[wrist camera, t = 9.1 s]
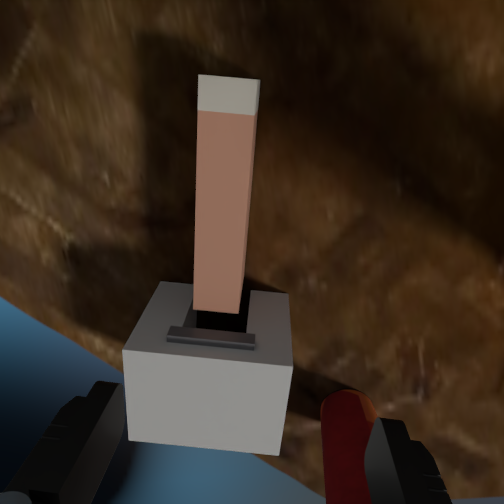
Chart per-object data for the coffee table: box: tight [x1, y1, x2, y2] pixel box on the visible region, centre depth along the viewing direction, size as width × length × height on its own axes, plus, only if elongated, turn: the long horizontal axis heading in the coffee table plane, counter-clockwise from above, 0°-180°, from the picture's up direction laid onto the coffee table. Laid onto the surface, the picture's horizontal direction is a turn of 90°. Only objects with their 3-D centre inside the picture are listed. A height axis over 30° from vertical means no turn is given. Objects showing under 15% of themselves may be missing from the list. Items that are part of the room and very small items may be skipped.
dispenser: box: [122, 281, 293, 456], centre depth 33 cm, size 12×10×10 cm
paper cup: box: [320, 389, 378, 504], centre depth 35 cm, size 8×8×14 cm
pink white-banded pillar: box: [193, 74, 260, 314], centre depth 29 cm, size 4×16×6 cm, turn 175°
